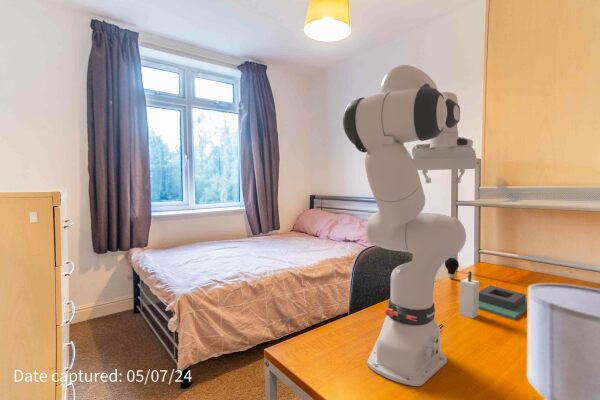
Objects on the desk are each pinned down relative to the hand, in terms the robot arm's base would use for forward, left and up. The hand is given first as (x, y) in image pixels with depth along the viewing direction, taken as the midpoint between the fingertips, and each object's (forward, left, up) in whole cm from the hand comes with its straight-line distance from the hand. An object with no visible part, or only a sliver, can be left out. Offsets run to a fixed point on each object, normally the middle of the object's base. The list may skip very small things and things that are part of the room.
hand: (442, 183), depth 106 cm
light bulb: (+39, +4, -46) cm, 61 cm away
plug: (+3, -9, -46) cm, 47 cm away
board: (+20, -17, -46) cm, 53 cm away
